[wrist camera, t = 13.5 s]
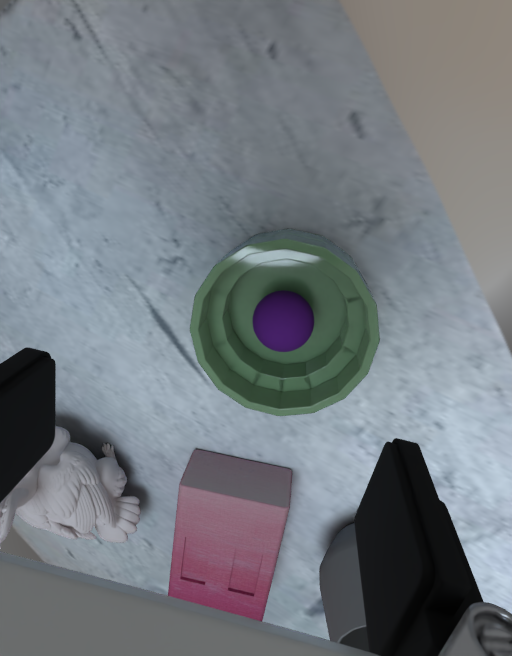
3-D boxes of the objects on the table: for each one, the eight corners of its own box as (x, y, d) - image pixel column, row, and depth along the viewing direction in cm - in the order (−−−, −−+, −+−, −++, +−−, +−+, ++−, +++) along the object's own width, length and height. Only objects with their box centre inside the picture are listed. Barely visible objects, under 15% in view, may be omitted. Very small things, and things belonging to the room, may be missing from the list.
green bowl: (224, 211, 30) (206, 220, 24) (390, 250, 29) (406, 266, 24) (199, 358, 34) (179, 391, 29) (341, 394, 34) (346, 433, 28)
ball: (264, 277, 30) (254, 293, 26) (322, 291, 30) (321, 310, 26) (252, 330, 32) (241, 352, 28) (307, 344, 32) (303, 369, 28)
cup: (395, 590, 41) (419, 713, 31) (305, 561, 41) (303, 675, 31) (436, 523, 37) (478, 640, 28) (339, 491, 37) (347, 597, 28)
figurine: (63, 384, 37) (-53, 483, 25) (169, 497, 40) (109, 631, 28) (10, 424, 39) (-119, 530, 28) (113, 527, 43) (37, 662, 31)
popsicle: (162, 639, 41) (178, 485, 33) (177, 593, 45) (194, 447, 38) (253, 661, 40) (289, 509, 32) (259, 612, 44) (292, 469, 37)
